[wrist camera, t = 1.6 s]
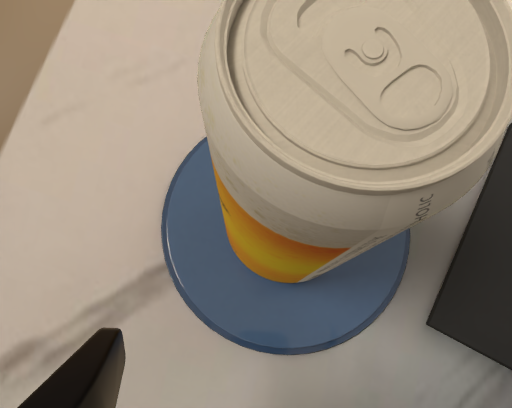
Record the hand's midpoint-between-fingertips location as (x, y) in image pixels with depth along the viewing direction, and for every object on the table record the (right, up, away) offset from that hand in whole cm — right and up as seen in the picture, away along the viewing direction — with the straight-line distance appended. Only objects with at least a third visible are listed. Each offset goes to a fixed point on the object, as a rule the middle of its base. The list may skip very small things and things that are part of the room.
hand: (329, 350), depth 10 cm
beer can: (0, +2, +13) cm, 13 cm away
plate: (0, +2, +13) cm, 13 cm away
